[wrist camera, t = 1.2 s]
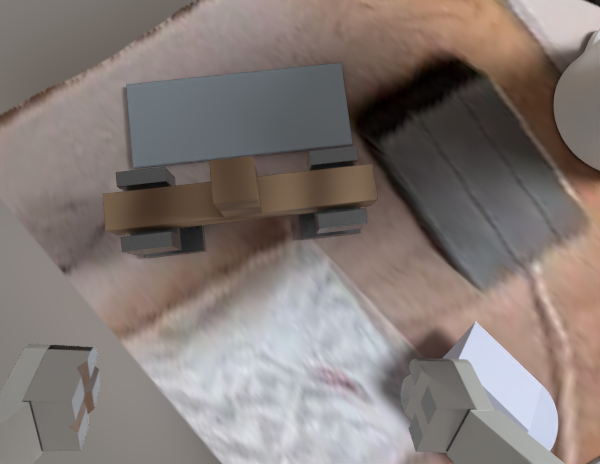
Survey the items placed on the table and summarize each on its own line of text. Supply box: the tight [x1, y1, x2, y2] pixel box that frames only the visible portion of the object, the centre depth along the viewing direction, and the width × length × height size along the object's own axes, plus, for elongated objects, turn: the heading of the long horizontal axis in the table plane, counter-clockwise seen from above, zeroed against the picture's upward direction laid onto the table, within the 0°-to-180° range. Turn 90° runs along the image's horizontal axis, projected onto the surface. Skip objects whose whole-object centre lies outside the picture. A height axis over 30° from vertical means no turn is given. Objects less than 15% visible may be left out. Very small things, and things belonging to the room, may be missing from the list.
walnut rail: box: [103, 156, 377, 235], centre depth 37 cm, size 22×3×9 cm, turn 97°
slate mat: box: [126, 63, 352, 169], centre depth 50 cm, size 23×9×1 cm, turn 97°
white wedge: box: [442, 322, 558, 451], centre depth 44 cm, size 9×7×13 cm
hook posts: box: [116, 146, 367, 258], centre depth 44 cm, size 22×7×10 cm, turn 97°
